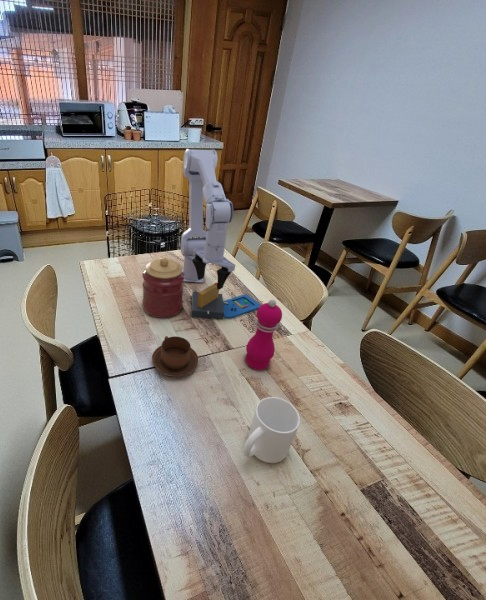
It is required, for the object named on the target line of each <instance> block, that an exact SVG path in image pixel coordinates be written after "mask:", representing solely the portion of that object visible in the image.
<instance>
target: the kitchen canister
mask: <svg viewBox="0 0 486 600" xmlns="http://www.w3.org/2000/svg"><path fill="white" fill-rule="evenodd" d="M183 268H184V267H183V266H182V265H181V264H180V263H178V262H177V261H176V260H173V259H169V258H168V257H166V256H163V257H161V258H156V259H153V260H151V261H150V262H147V264H146V265H145V268H144V271H143V272H142V279H143V281H142V307H143V310H144V311H145V313H147V314H148V315H150V316H153V317H155V318H162V319H164V318H171V317H175V316H176V315H178V314H179V313H180V312H181V311H182V308H183V306H184V301H183V298H184V289H185V283H184V279H185V275H184V273H183Z"/></svg>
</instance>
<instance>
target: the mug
mask: <svg viewBox="0 0 486 600" xmlns="http://www.w3.org/2000/svg"><path fill="white" fill-rule="evenodd" d="M300 424H301V417H300V414H299V411H298V410H297V408H296V407H295V406H294V405H293V404H292V403H290V402H289V401H287V400H286V399H283V398H281V397H276V396H267V397H264V398H262V399H260V400H259V402H258V403H257V404H256V407H255V410H254V412H253V417H252V421H251V424H250V428H249V431H248V434H247V439H246V441H245V443H244V446H243V449H242V453H243V456H245V457H246V458H251V457H254V456H255V457H256V458H257V459H258V460H260V461H262V462H264V463H268V464H276V463H279V462H281V461H283V460H284V459H285V458H286V457H287V455H288V454H289V451H290V449H291V446H292V444H293V442H294V439H295V436H296V434H297V432H298V430H299V427H300Z"/></svg>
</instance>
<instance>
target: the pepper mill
mask: <svg viewBox="0 0 486 600" xmlns="http://www.w3.org/2000/svg"><path fill="white" fill-rule="evenodd" d="M260 305H261V306H260V307H259V308H258V309H257V310H256V318H257V319H256V323H255V325H256V330H255V333H254V334H253V336H251V338H250V339H249V340H248V341H247V344H246V348H245V351H246V355H245V363H246V364H247V366H248V367H249V368H251V369H253V370H257V371H264V370H266V369H268V368H269V366H270V362H271V359H273V358H274V356H275V352H276V351H275V343H274V338H273V336H274V332H275V331H277V328H278V324H280V323H281V321H282V320H283V319H282V318H283V311H282V308H281V307H280V306H279V305H277V302H276V300H275V299H269V301H268V302H265V303H262V304H260Z"/></svg>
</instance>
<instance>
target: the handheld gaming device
mask: <svg viewBox="0 0 486 600" xmlns="http://www.w3.org/2000/svg"><path fill="white" fill-rule="evenodd" d="M224 302H227V303H228V304H227V303H224ZM261 305H262V304H261V303H259V302H257V301H256V300H255V299H253V298H252V297H251V296H249V295H248V294H247V293H246V294H241V295H238V296H234V297H232V298H229V299H226V300H223V306H224V317H223V319H228V320H229V319H235V318H238V317H240V316H243V315H245V314H249V313H251V312H254V311H257V310H258V308H259V307H260V306H261Z"/></svg>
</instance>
